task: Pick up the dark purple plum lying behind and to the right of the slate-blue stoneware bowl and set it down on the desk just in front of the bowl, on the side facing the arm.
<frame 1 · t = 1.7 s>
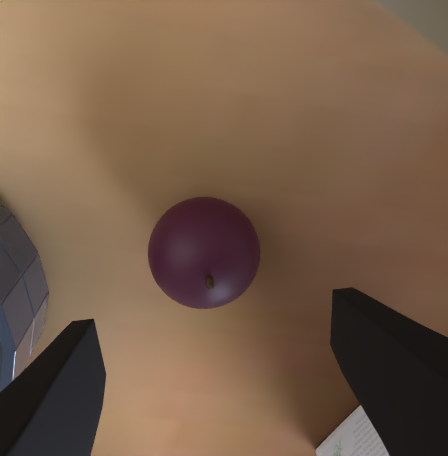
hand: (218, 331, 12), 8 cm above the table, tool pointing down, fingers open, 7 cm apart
syrup box: (369, 434, 27), on the table
plum: (200, 230, 19), on the table
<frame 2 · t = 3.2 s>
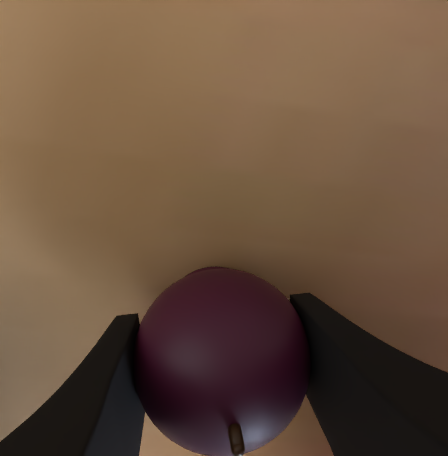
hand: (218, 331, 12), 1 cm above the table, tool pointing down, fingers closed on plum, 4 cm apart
plum: (213, 306, 13), on the table, touching gripper
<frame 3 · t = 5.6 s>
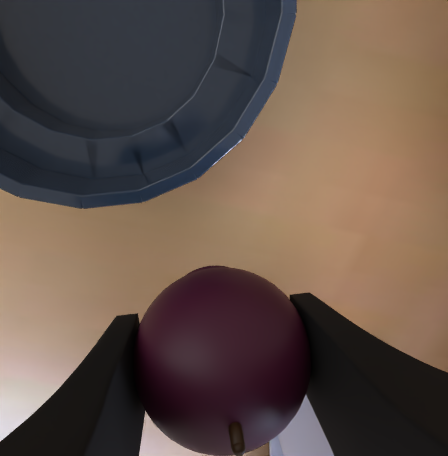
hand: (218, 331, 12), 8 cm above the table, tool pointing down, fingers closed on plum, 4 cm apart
bowl: (101, 12, 16), on the table
plum: (213, 305, 13), point 7 cm above the table, touching gripper
when the fingers open (1 cm above the table, at t = 8.0 s): plum stays where it is, on the table.
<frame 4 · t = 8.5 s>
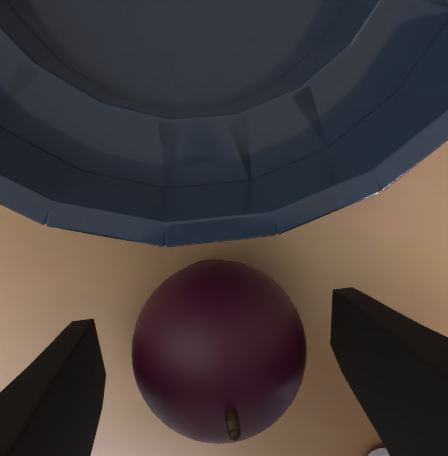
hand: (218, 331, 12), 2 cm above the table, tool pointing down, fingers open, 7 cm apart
plum: (211, 298, 13), on the table
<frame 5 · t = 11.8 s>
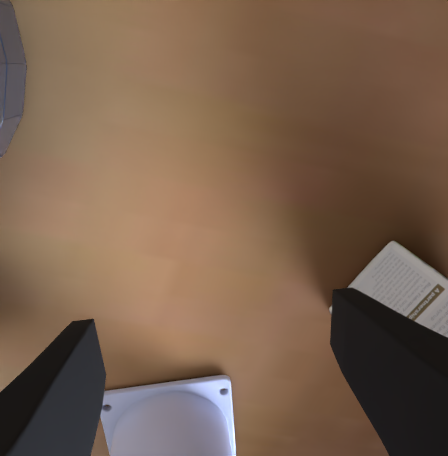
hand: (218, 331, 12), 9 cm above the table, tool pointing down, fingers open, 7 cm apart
syrup box: (388, 294, 24), on the table
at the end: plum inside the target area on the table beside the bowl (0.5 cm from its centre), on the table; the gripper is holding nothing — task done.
